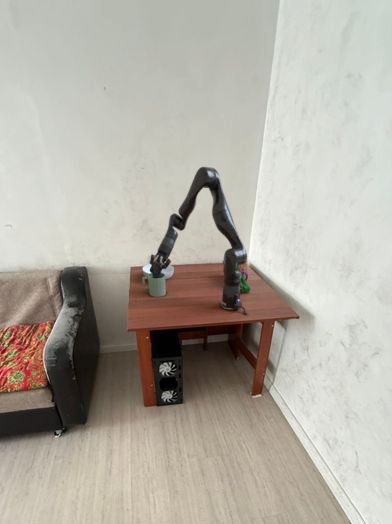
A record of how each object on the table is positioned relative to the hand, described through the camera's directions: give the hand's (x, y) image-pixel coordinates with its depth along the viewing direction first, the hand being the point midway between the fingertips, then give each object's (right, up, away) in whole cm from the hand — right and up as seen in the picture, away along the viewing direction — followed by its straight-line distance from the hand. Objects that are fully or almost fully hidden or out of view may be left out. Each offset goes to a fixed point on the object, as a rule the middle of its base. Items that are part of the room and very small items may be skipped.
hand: (154, 273), depth 170 cm
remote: (+1, -2, +4) cm, 5 cm away
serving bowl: (-1, +4, +28) cm, 28 cm away
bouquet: (+53, -2, +23) cm, 58 cm away
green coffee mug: (-1, -10, +9) cm, 14 cm away
